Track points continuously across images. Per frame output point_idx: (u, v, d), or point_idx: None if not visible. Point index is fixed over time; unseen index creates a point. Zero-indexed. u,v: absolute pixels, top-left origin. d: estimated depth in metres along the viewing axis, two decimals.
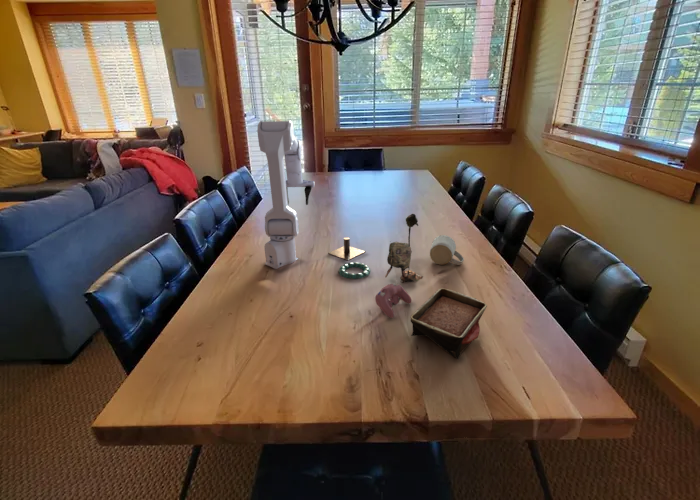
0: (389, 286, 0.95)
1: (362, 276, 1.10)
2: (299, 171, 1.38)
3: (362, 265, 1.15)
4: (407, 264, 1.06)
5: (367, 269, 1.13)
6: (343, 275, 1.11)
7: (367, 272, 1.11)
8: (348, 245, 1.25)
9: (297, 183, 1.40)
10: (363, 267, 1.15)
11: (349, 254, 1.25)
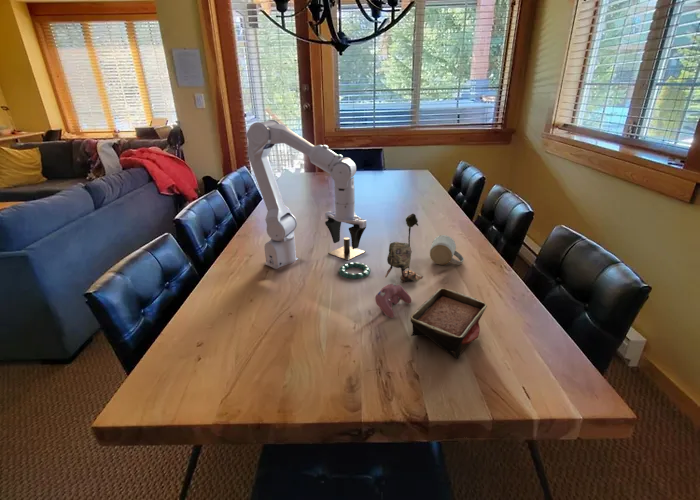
0: (389, 286, 0.95)
1: (362, 276, 1.10)
2: (336, 202, 1.06)
3: (362, 265, 1.15)
4: (407, 264, 1.06)
5: (367, 269, 1.13)
6: (343, 275, 1.11)
7: (367, 272, 1.11)
8: (348, 245, 1.25)
9: (342, 217, 1.07)
10: (363, 267, 1.15)
11: (349, 254, 1.25)
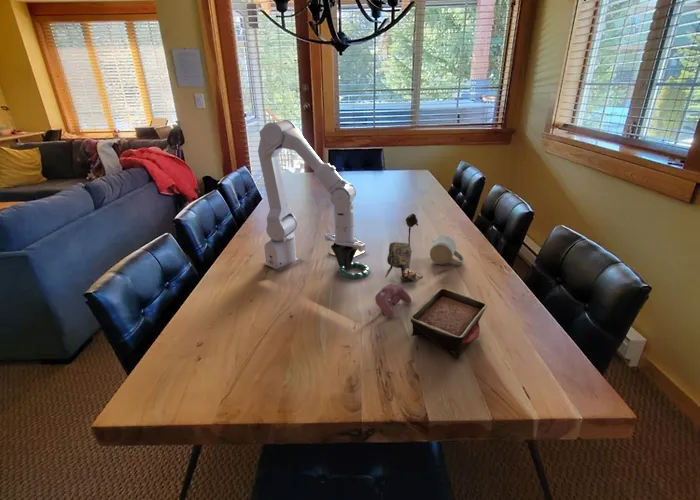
0: (389, 286, 0.95)
1: (362, 276, 1.10)
2: (336, 225, 1.09)
3: (362, 265, 1.16)
4: (407, 264, 1.06)
5: (367, 269, 1.13)
6: (343, 275, 1.11)
7: (367, 272, 1.11)
8: None
9: (341, 240, 1.10)
10: (363, 267, 1.15)
11: None
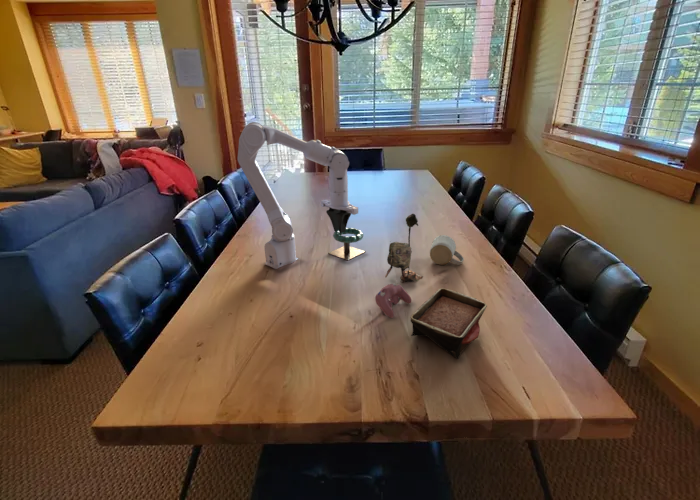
0: (389, 286, 0.95)
1: (355, 239, 1.16)
2: (334, 191, 1.14)
3: (356, 230, 1.22)
4: (407, 264, 1.06)
5: (360, 233, 1.19)
6: (337, 238, 1.17)
7: (360, 235, 1.17)
8: (348, 245, 1.25)
9: (336, 204, 1.16)
10: (357, 232, 1.21)
11: (349, 254, 1.25)
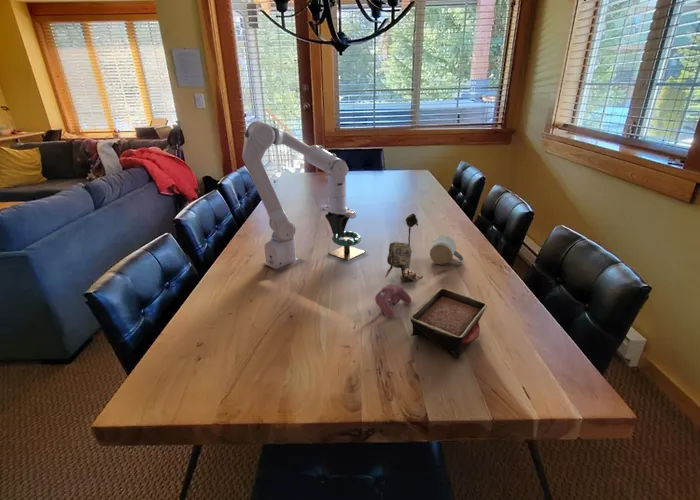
0: (389, 286, 0.95)
1: (353, 242, 1.21)
2: (335, 196, 1.19)
3: (354, 233, 1.26)
4: (407, 264, 1.06)
5: (358, 236, 1.23)
6: (336, 241, 1.21)
7: (358, 239, 1.22)
8: None
9: (335, 209, 1.20)
10: (355, 235, 1.25)
11: (349, 254, 1.25)
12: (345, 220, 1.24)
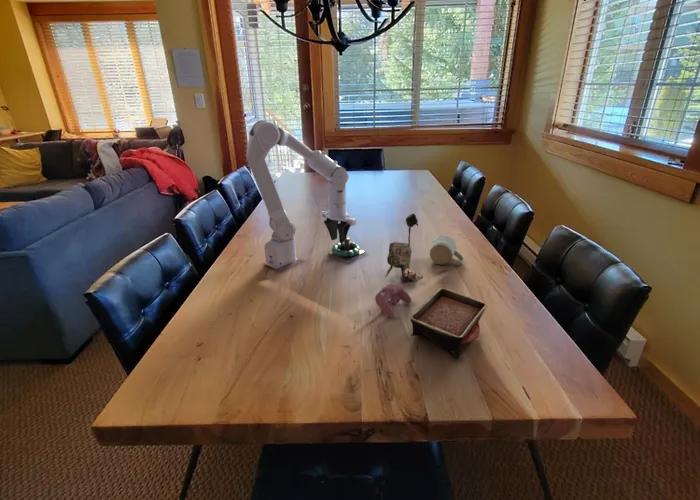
0: (389, 286, 0.95)
1: (352, 253, 1.22)
2: (335, 203, 1.20)
3: (353, 244, 1.28)
4: (407, 264, 1.06)
5: (357, 247, 1.25)
6: (335, 252, 1.23)
7: (357, 250, 1.24)
8: (348, 245, 1.25)
9: (335, 216, 1.21)
10: (354, 246, 1.27)
11: None
12: (347, 227, 1.24)
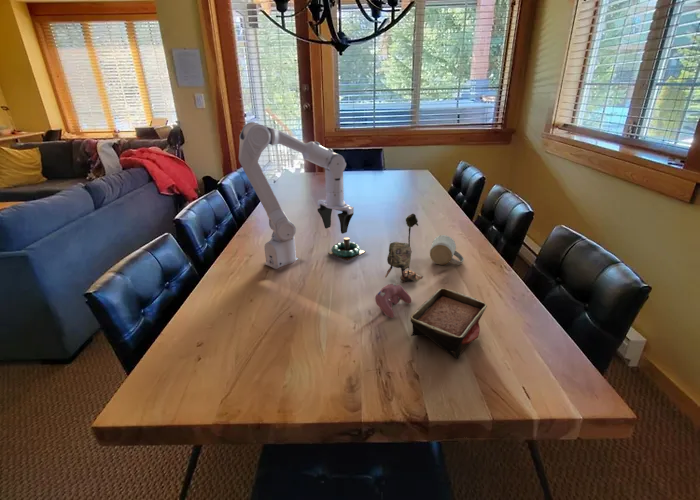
0: (389, 286, 0.95)
1: (352, 253, 1.22)
2: (332, 191, 1.18)
3: (353, 244, 1.28)
4: (407, 264, 1.06)
5: (357, 247, 1.25)
6: (335, 252, 1.23)
7: (357, 250, 1.24)
8: (348, 245, 1.25)
9: (332, 204, 1.20)
10: (354, 246, 1.27)
11: None
12: (348, 217, 1.22)
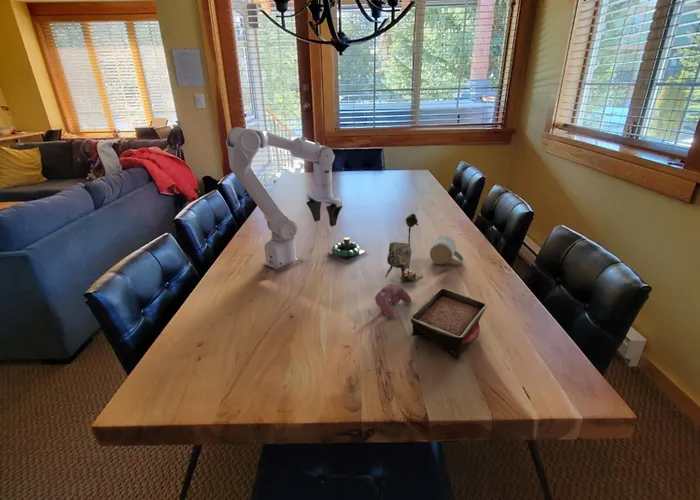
0: (389, 286, 0.95)
1: (352, 253, 1.22)
2: (322, 184, 1.18)
3: (353, 244, 1.28)
4: (407, 264, 1.06)
5: (357, 247, 1.25)
6: (335, 252, 1.23)
7: (357, 250, 1.24)
8: (348, 245, 1.25)
9: (321, 197, 1.20)
10: (354, 246, 1.27)
11: None
12: (337, 210, 1.22)
